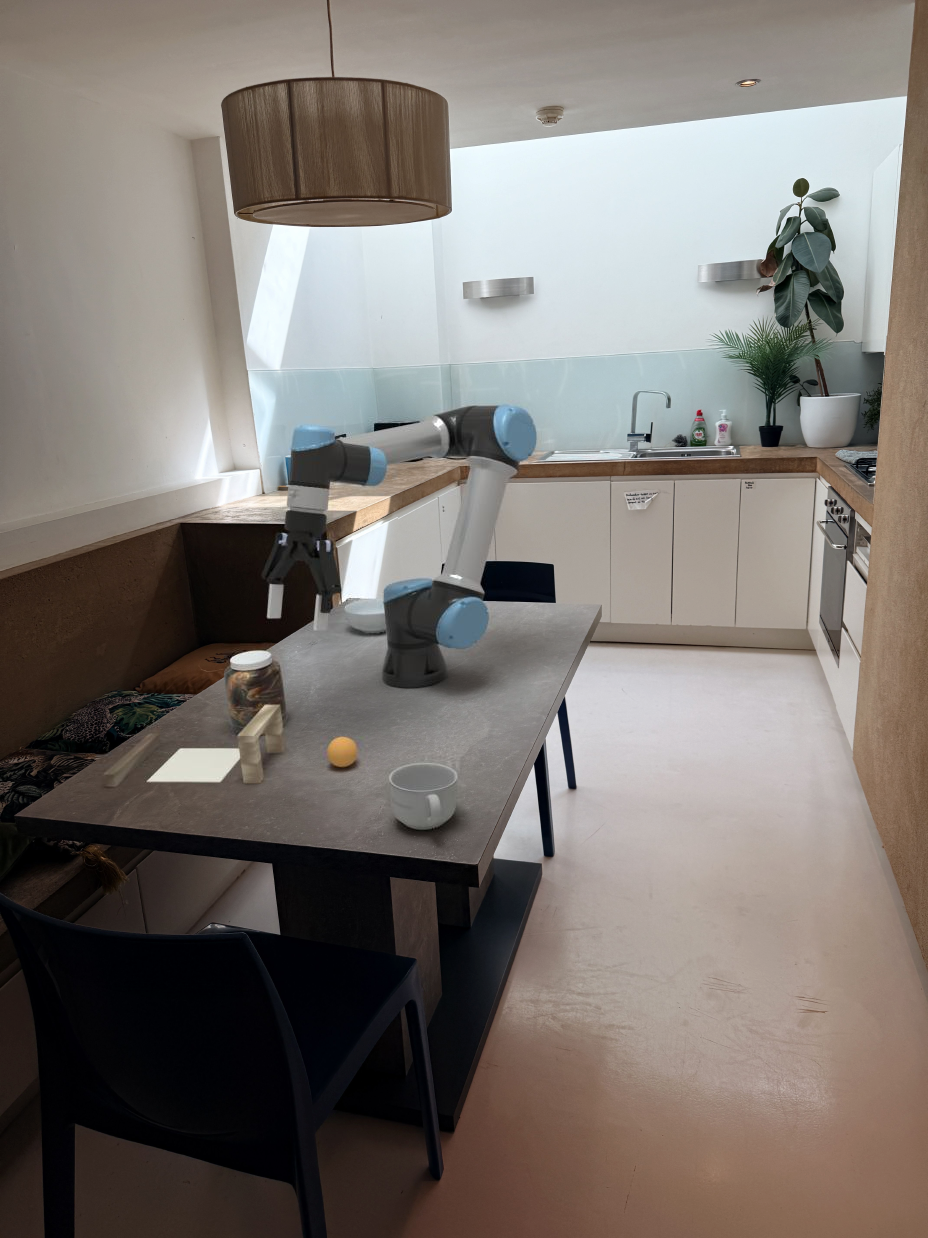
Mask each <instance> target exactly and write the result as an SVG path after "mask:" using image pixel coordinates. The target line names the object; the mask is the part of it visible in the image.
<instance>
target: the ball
mask: <svg viewBox="0 0 928 1238" xmlns="http://www.w3.org/2000/svg"><path fill="white" fill-rule="evenodd" d="M326 751H327V752H326V753H327V758H328V760H329V762H330V763H331V764H332V765H333V766H336V767H339V768H346V767H348V766H350V765H352V764H354V762H355V761H356V759H357V757H358V747H357V744H356V742H355V741H354V740H353V739H352V738H350V737H346V736H338V737H336V738H334V739H333V740H332V741H331V742H330V743H329V744H328V746H327V750H326Z"/></svg>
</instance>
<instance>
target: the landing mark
mask: <svg viewBox="0 0 928 1238" xmlns="http://www.w3.org/2000/svg"><path fill="white" fill-rule="evenodd" d="M240 761H241V760H240V752H239V747H238V748H225V747H224V748H222V747H221V748H218V747H217V748H215V747H214V748H210V747H209V748H205V747H204V748H201V747H200V748H199V747H198V748H197V747H196V748H193V747H192V748H191V747H190V748H186V747H185V748H179V749H178V750H177V751H176V752H175V753H174V754H173V755H172V756H171V757H169V758H168V759H167V761H166V762H164V764H163V765H161V767H160V768H158V770H157V771H155V773H153V774H152V775H151V777H149V779H147V780H146V783H210V784H211V783H214V784H216V783H221V782H222V781H223V780H224V779H225V778H226V776H227V775H228V774H229V773H230V772H231V771H232V769H234V767H235V766H236V765H237V763H238V762H240Z"/></svg>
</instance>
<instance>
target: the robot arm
mask: <svg viewBox="0 0 928 1238" xmlns="http://www.w3.org/2000/svg"><path fill="white" fill-rule="evenodd" d="M536 429H537V428H536V425H535V424H534V420H533V418H532V416H531V415H530V414H529V412H528V411H527V410H526V409H524V408H523V407H521V406H517V405H509V404H501V405H467V406H463V407H459V408H456V409H452V410H449V411H448V410H447V411H445V412H441V413H438V414H437V413H436V414H431V415H429V416H426V417H425V418H424V419H423V421H421V422H415V423H412V424H411V423H410V424H406V425H402V426H401V425H400V426H396V427H391V428H386V429H381V430H376V431H375V430H374V431H370V432H365V433H360V434H357V435H356V434H355V435H350V436H344V437H340V438H335V435H336V434H335V431H334V429H332V428H328V427H324V426H317V425H311V424H310V425H309V424H299V425H297V426H295V428H294V430H293V434H292V439H291V440H292V441H291V446H290V462H289V472H288V488H287V498H286V506H287V507H288V508H289V509H288V510H286V512H285V520H284V529H285V530H286V531H287V533H284V532H281V533H280V532H276V534H275V540H274V545H273V546H272V549H271V551H270V554H269V556H268V559H267V561H266V563H265V566H264V568H263V570H262V573H261V579H263V580H264V579H265V580H266V582H267V583H268V586H267V587H268V590H267V601H268V602H267V613H266V618H267V619H281V618H282V609H283V608H282V607H283V595H284V586H285V585H284V582H283V580H284V579H285V577H286V576H287V574H288V573H289V571H290V570H291V568H292V567H293V566H294V564H296V562H297V561H300V562H302V563H303V562H304V563H305V564H306V566H307V565H308V567H309V570H310V572H311V575H312V578H313V579H314V582H315V584H316V586H317V589H318V593H317V594H316V598H315V608H314V618H313V619H314V620H313V631H317V632H319V631H328V626H329V616H330V615H329V614H330V613H331V611H332V601H333V596H334V595H336V594H341V593H342V584H341V582H340V581H341V580H340V576H339V572H338V567H337V563H336V559H335V554H334V545H335V544H334V541H333V540H323V539H322V535H323V534H325V533H326V529H327V520H328V519H327V518H328V516H327V515H326V514H325V512H327V511H328V510H329V497H330V487H331V483H339V484H346V485H348V484H349V485H358V486H361V487H377V486H379V485H380V484H381V483H382V482H383V481H384V479H385V477H386V475H387V468H388V466H390V465H395V464H400V463H404V462H409V461H412V460H418V459H422V458H426V457H431V458H433V459H442V458H443V459H444V458H450V457H452V458H453V457H455V458H465V461H466V462H467V465H468V466H469V472H468V476H467V481H466V484H465V488H464V491H463V495H462V499H461V503H460V506H459V511H458V514H457V518H456V522H455V525H454V528H453V532H452V535H451V536H452V537H451V540H450V543H449V547H448V551H447V555H446V559H445V562H444V565H443V569H442V573H441V574H440V575H438V576H436V577H434V578H433V579H432V578H428V577H425V578H424V577H423V578H421V577H420V578H412V579H406V580H405V579H404V580H400V581H396V582H392V583H390V584H388V585H386V586H385V587H384V589H383V599H384V601H383V604H384V612H385V622H386V641H387V649H386V653H385V657H384V662H383V665H382V673H381V674H382V680H383V682H384V683H385V684H386V685H389V686H391V687H397V688H403V689H404V688H413V689H414V688H421V687H427V686H432V685H436V684H437V683H440V682H442V681H443V680H445V679H446V677H447V676H448V669H447V668H448V667H447V663H446V661H445V658H444V655H443V653H442V651H441V649H440V646H439V645H441V646H442V647H445V648H448V649H457V650H465V649H469V648H470V647H472V646H473V645H474V644H476V643H478V642H479V641H480V640H481V638H482V637H483V636H484V634H485V633H486V630H487V628H488V625H489V619H490V615H489V612H488V607H487V604H486V603H485V602H484V598H485V593H486V592H485V591H484V589H483V587H482V585H481V582H482V577H483V573H484V570H485V567H486V563H487V559H488V555H489V551H490V548H491V544H492V541H493V536H494V532H495V529H496V526H497V521H498V518H499V513H500V510H501V507H502V503H503V500H504V495H505V492H506V487H507V484H508V481H509V479H510V478H512V477H513V476H515V475H517V474H518V470H519V466H520V462H524V461H526V460H527V459H529V457H531V456H532V455H533V453H534V451H535V450H536V446H537V439H538V437H537V430H536Z"/></svg>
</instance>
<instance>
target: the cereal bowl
mask: <svg viewBox="0 0 928 1238" xmlns="http://www.w3.org/2000/svg"><path fill="white" fill-rule="evenodd" d="M383 601H384V598H371V599H369V598H368V599H363V600H357V601H353V602H350V603H348V604H347V605H345V607H344V617H345V620H346V622H347V624H349V626H351V627H352V628H354V629H356V630H359V631H360V632H362V633H364V634H369V633H376V634H381V633H380V632H382V633H385V632H384V631H386V622H385V612H384V604H383Z"/></svg>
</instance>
